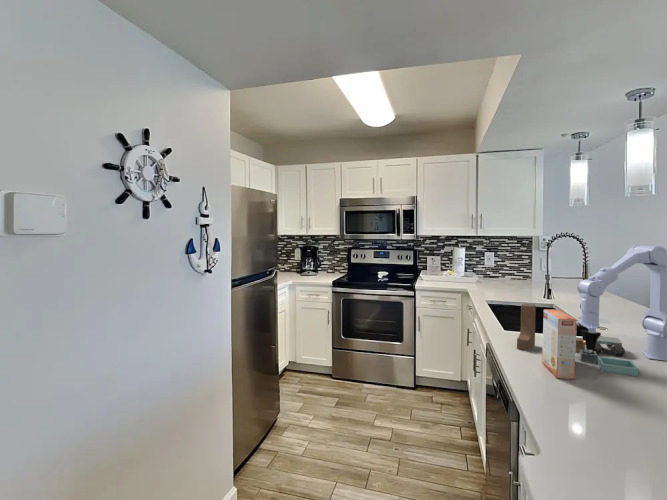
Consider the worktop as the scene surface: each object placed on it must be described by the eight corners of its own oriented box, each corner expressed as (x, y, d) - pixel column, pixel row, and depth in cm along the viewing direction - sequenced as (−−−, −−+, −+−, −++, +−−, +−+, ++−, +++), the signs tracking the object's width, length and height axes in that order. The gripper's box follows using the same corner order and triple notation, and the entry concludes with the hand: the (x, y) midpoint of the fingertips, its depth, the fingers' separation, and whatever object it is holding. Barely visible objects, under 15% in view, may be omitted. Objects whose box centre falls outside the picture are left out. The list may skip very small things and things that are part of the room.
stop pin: (593, 359, 134) (593, 340, 134) (594, 362, 131) (595, 343, 131) (581, 357, 136) (582, 339, 136) (583, 360, 133) (583, 342, 133)
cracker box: (576, 380, 117) (577, 319, 116) (555, 378, 119) (557, 318, 117) (559, 363, 131) (560, 309, 129) (541, 362, 132) (542, 308, 131)
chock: (587, 350, 143) (587, 338, 143) (588, 354, 140) (589, 341, 139) (572, 348, 146) (572, 337, 145) (573, 352, 142) (574, 340, 142)
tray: (631, 367, 126) (631, 360, 126) (637, 376, 119) (638, 369, 119) (597, 362, 131) (597, 356, 131) (601, 370, 124) (601, 364, 124)
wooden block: (528, 351, 144) (528, 308, 143) (516, 348, 147) (517, 306, 146) (535, 345, 150) (535, 304, 149) (523, 343, 153) (524, 303, 152)
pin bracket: (595, 358, 135) (595, 351, 135) (597, 363, 130) (597, 355, 130) (579, 356, 137) (579, 349, 137) (581, 361, 133) (581, 353, 133)
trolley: (618, 348, 144) (618, 336, 144) (624, 357, 135) (625, 344, 135) (584, 344, 150) (585, 333, 150) (588, 352, 141) (589, 340, 140)
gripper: (574, 306, 141) (573, 339, 142) (579, 314, 128) (578, 350, 129) (596, 308, 137) (595, 341, 138) (603, 316, 125) (602, 353, 126)
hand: (588, 346), depth 133 cm, fingers open, 7 cm apart
